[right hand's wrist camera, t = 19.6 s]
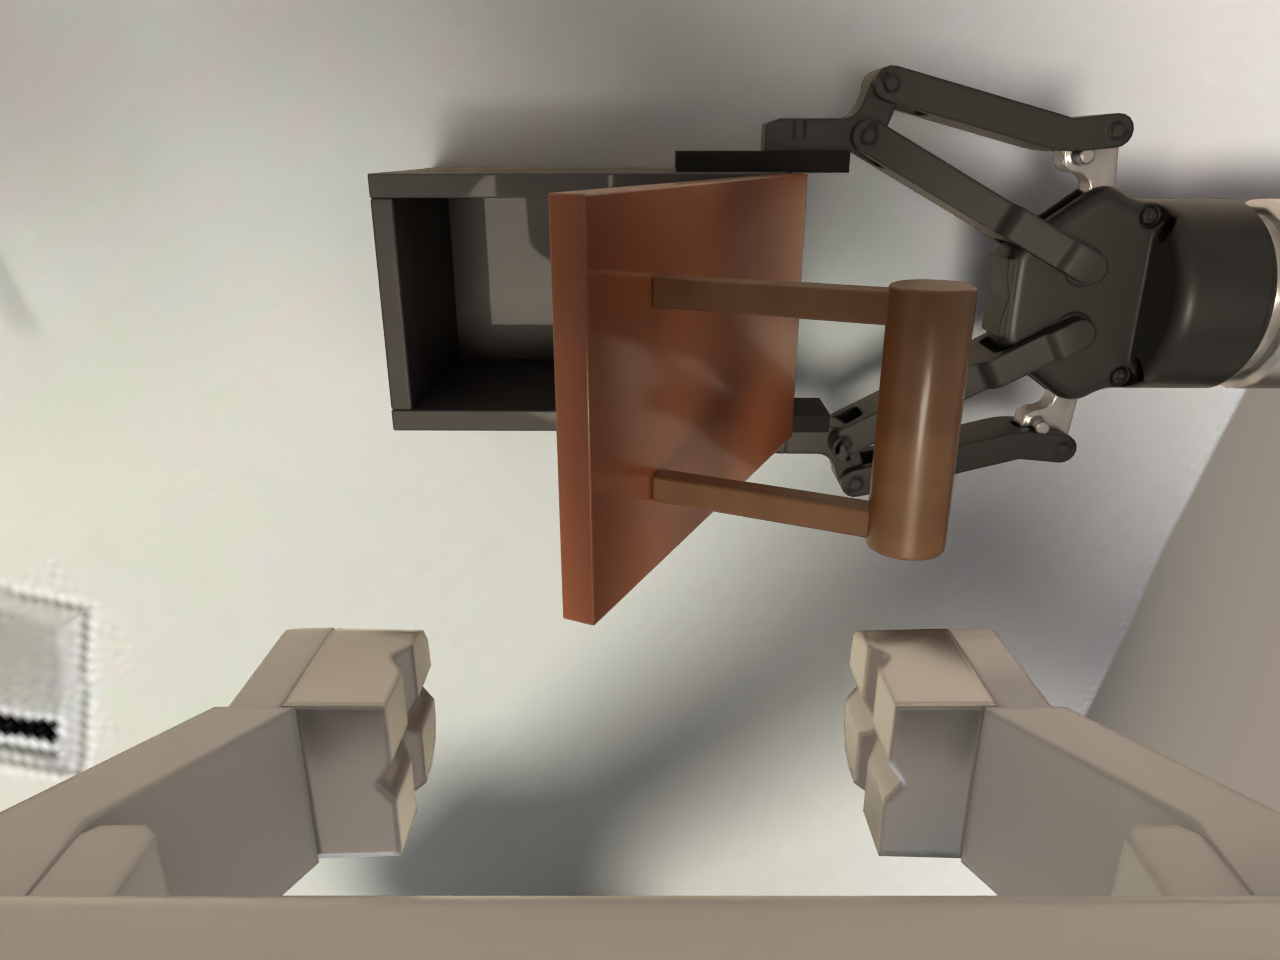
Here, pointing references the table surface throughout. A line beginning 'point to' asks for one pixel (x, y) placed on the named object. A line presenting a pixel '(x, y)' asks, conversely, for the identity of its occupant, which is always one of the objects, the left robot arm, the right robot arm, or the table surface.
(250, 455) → the table surface
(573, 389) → the lid
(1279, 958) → the right robot arm
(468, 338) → the chest
